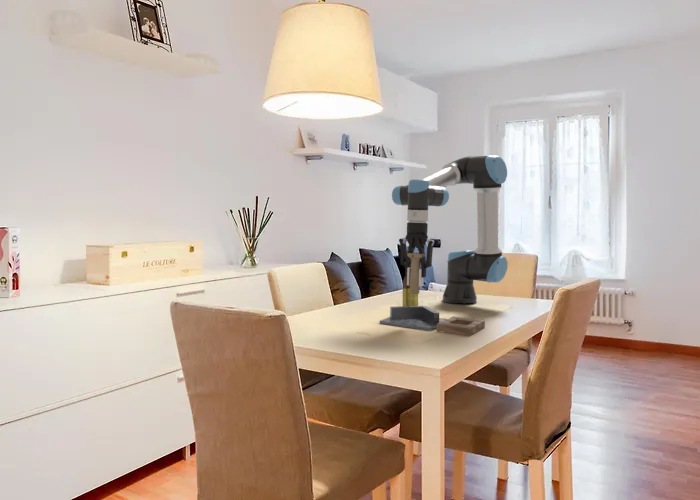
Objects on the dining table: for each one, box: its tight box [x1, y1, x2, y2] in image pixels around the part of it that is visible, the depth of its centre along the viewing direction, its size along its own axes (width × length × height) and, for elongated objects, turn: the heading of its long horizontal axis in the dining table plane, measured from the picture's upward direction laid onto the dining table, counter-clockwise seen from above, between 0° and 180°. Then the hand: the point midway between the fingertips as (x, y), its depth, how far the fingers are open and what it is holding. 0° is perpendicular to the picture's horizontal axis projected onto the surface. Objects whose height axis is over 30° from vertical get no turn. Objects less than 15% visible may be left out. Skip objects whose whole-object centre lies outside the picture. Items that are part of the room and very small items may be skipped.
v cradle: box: [379, 305, 448, 331], centre depth 212 cm, size 18×20×5 cm
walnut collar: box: [436, 316, 486, 337], centre depth 203 cm, size 16×12×2 cm
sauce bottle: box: [402, 276, 419, 306], centre depth 229 cm, size 7×6×20 cm
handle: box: [406, 252, 426, 295], centre depth 210 cm, size 5×6×15 cm
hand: (415, 285), depth 210 cm, fingers closed on handle, 4 cm apart
